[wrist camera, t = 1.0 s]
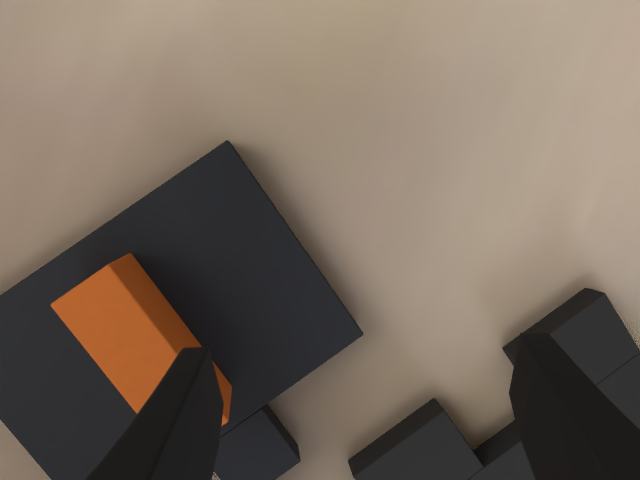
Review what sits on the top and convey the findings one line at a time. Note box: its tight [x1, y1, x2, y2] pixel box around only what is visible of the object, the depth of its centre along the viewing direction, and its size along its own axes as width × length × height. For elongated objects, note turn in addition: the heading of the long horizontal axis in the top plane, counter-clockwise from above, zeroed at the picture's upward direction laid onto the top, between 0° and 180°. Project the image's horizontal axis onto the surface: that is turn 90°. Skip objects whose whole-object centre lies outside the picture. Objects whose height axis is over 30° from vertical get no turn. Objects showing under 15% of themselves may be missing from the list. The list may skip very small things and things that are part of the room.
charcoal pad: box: [0, 140, 363, 480], centre depth 22 cm, size 14×13×5 cm
